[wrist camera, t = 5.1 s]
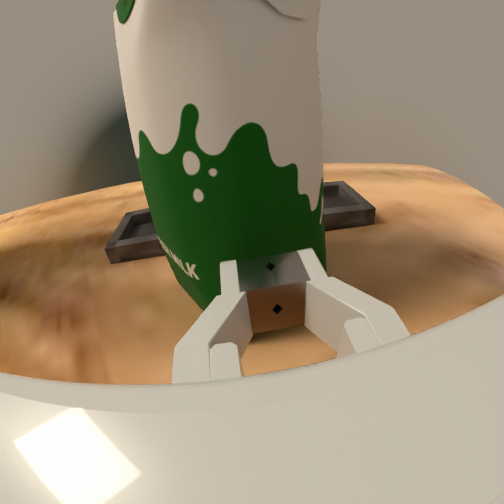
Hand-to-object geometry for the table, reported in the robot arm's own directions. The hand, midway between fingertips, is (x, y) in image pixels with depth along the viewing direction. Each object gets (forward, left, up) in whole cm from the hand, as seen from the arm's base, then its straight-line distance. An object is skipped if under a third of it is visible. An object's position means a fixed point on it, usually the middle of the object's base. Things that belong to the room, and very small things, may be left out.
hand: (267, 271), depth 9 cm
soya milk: (0, +6, -6) cm, 9 cm away
